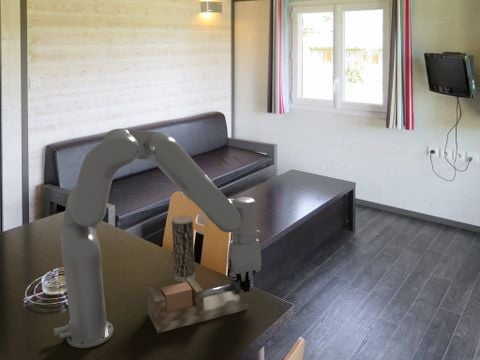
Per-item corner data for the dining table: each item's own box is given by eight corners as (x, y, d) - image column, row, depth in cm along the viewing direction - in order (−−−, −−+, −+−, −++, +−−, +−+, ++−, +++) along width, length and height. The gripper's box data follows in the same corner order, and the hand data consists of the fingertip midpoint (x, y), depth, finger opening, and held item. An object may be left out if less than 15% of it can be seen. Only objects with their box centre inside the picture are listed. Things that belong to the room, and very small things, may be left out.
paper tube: (185, 281, 159) (182, 213, 153) (199, 287, 155) (196, 218, 149) (171, 288, 154) (167, 219, 148) (185, 295, 150) (181, 224, 144)
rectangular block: (167, 319, 133) (165, 295, 131) (162, 311, 138) (160, 287, 136) (192, 313, 137) (191, 289, 135) (187, 305, 141) (186, 282, 139)
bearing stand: (157, 333, 130) (155, 303, 127) (148, 314, 139) (146, 286, 137) (247, 309, 141) (247, 281, 139) (232, 293, 151) (232, 267, 148)
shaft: (194, 308, 136) (193, 293, 135) (188, 300, 141) (188, 286, 139) (240, 296, 143) (240, 282, 141) (234, 289, 147) (233, 275, 146)
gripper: (260, 229, 147) (260, 280, 152) (217, 236, 141) (219, 290, 146) (271, 236, 141) (271, 290, 146) (227, 245, 135) (228, 300, 140)
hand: (245, 290), depth 146 cm, fingers closed
